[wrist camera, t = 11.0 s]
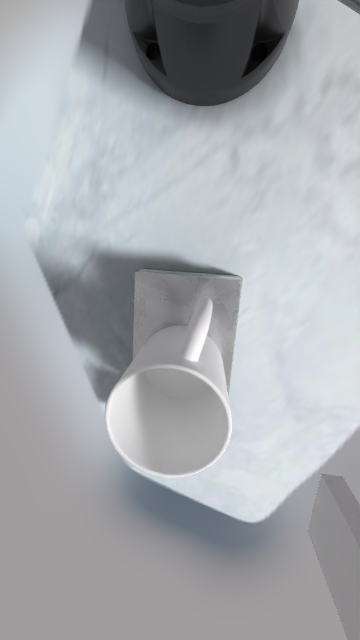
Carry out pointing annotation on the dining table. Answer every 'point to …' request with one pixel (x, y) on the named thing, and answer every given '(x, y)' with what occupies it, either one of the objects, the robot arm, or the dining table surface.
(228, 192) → the dining table surface
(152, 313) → the speckled metal plate
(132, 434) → the cup
